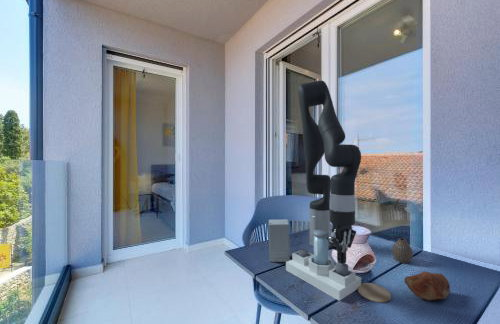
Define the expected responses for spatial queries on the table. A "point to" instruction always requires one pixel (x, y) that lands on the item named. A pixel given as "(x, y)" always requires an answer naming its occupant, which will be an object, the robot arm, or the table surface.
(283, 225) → the skincare box
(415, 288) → the fossil
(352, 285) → the housing
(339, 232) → the robot arm
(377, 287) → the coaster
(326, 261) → the cylinder
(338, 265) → the plunger
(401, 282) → the table surface
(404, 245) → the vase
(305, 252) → the plunger
